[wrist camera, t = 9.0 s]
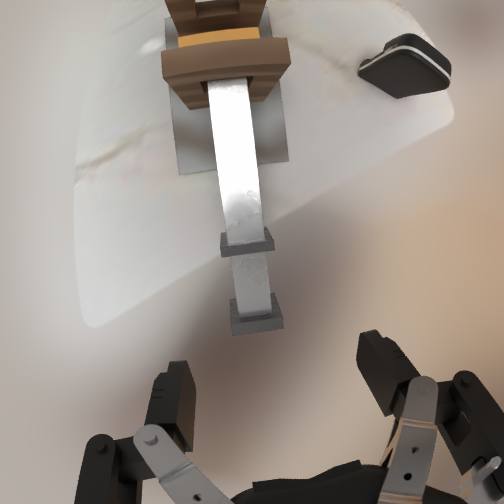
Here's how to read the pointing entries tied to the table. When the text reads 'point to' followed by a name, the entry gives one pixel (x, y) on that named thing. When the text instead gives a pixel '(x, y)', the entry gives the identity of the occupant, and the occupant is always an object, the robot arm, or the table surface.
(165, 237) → the table surface
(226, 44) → the stand
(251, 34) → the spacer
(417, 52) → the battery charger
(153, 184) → the table surface
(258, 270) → the shaft
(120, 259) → the table surface
